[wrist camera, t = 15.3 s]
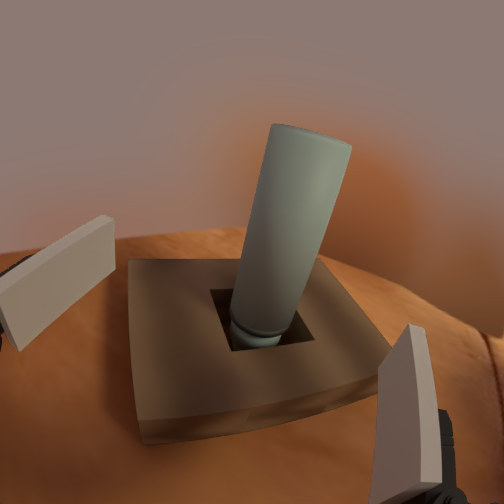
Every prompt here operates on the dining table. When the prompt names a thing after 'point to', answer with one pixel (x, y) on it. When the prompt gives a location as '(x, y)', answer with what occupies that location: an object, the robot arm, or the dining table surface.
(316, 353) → the board
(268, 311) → the grey rounded cylinder
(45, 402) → the dining table surface
